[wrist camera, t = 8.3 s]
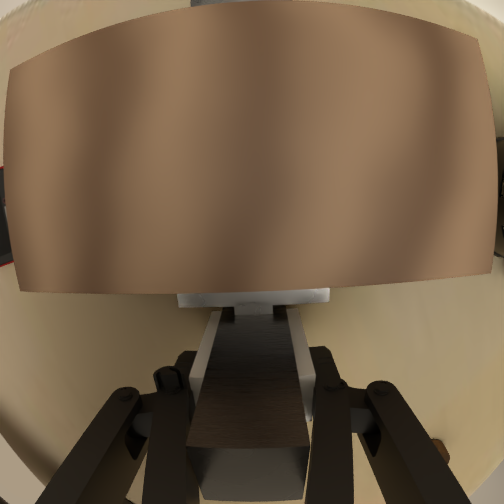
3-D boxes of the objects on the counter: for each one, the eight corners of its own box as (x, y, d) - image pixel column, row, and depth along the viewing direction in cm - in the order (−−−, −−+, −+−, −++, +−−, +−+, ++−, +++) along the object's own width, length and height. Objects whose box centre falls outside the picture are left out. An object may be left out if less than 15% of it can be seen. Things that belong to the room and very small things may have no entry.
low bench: (79, 259, 18) (20, 291, 12) (70, 91, 16) (10, 69, 9) (431, 244, 18) (491, 273, 11) (422, 70, 15) (477, 39, 9)
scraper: (197, 342, 20) (146, 491, 8) (177, 52, 15) (88, -66, 4) (316, 339, 19) (362, 490, 8) (307, 44, 15) (360, -92, 3)
